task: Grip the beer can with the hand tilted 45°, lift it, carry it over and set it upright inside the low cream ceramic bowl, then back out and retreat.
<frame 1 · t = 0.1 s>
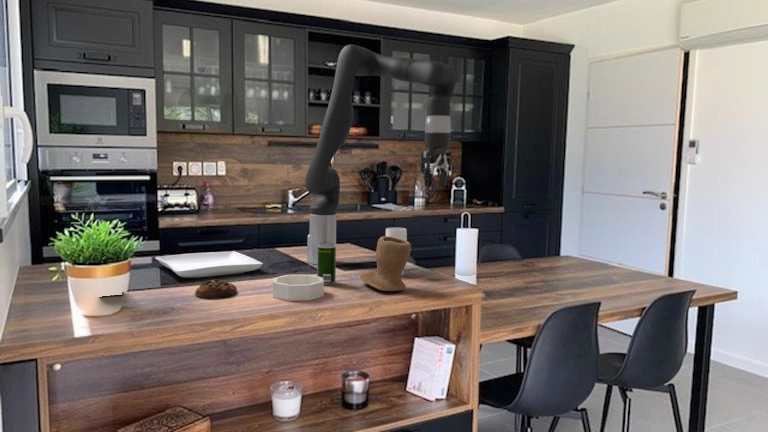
hand: (435, 186, 173), 29 cm above the countertop, tool pointing down, fingers open, 8 cm apart
drinking glass: (395, 275, 184), on the countertop
beer can: (326, 283, 171), on the countertop
square plate: (208, 271, 187), on the countertop
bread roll: (216, 295, 155), on the countertop
cream bowl: (298, 294, 157), on the countertop
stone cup: (386, 288, 167), on the countertop
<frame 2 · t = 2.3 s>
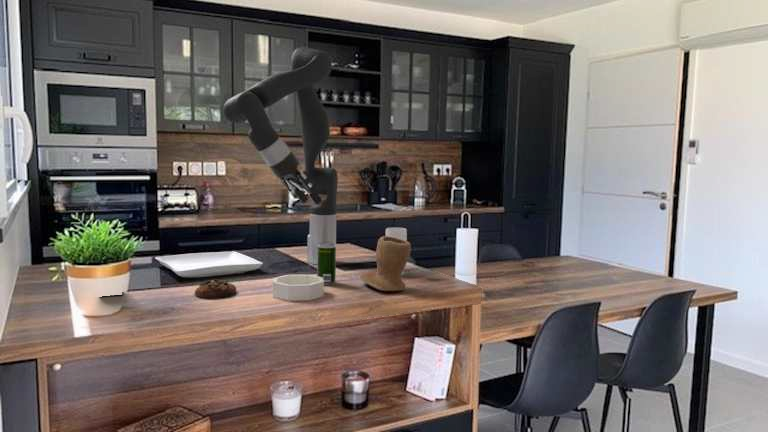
hand: (312, 201, 165), 24 cm above the countertop, tool tilted 40°, fingers open, 8 cm apart
nothing on the countertop moved.
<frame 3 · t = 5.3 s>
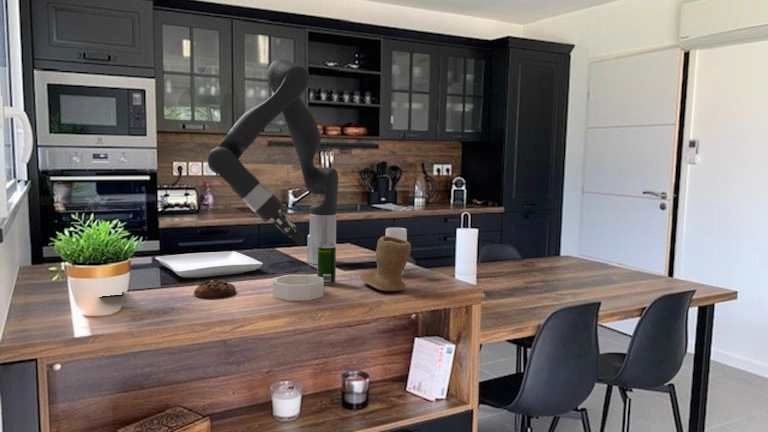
hand: (302, 241, 168), 13 cm above the countertop, tool tilted 45°, fingers open, 8 cm apart
nothing on the countertop moved.
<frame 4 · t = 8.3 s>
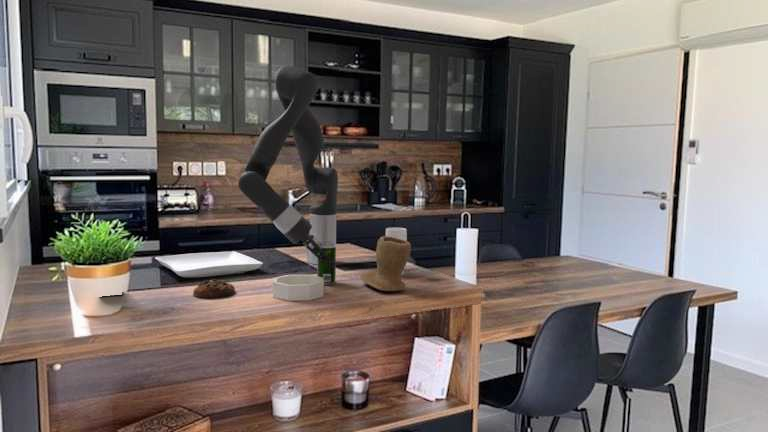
hand: (332, 264, 170), 6 cm above the countertop, tool tilted 45°, fingers closed on beer can, 5 cm apart
beer can: (326, 283, 171), on the countertop, touching gripper
everything else where it was.
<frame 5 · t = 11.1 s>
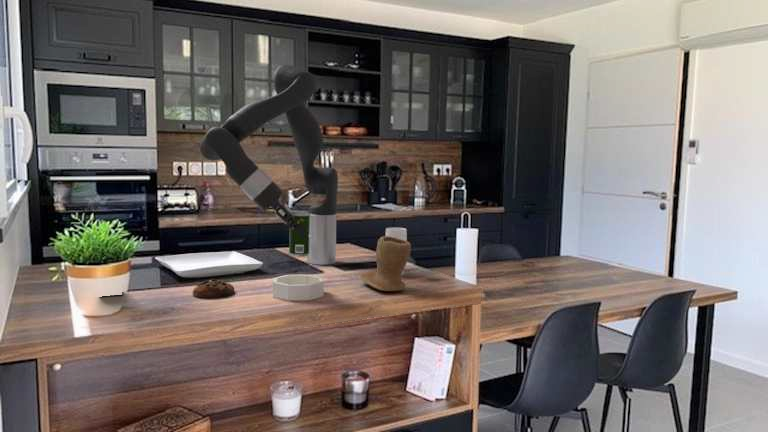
hand: (306, 234, 156), 16 cm above the countertop, tool tilted 45°, fingers closed on beer can, 5 cm apart
beer can: (299, 256, 156), point 11 cm above the countertop, touching gripper
everything else where it was.
when the fingers open (8 cm above the countertop, at t = 14.0 s): beer can drops 1 cm, resting on cream bowl.
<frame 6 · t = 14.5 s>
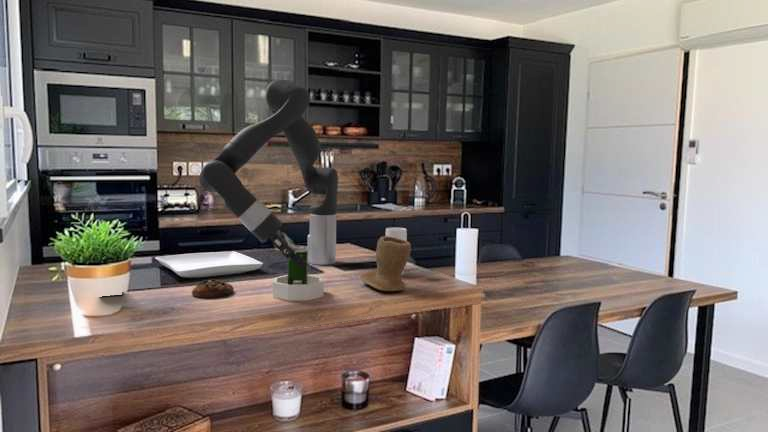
hand: (303, 262, 156), 9 cm above the countertop, tool tilted 45°, fingers open, 8 cm apart
beer can: (297, 291, 157), point 1 cm above the countertop, touching cream bowl
everything else where it was.
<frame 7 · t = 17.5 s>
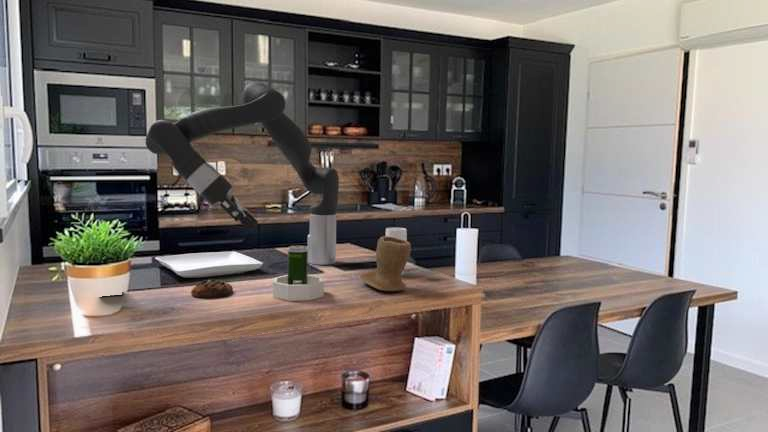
hand: (254, 227, 153), 18 cm above the countertop, tool tilted 45°, fingers open, 8 cm apart
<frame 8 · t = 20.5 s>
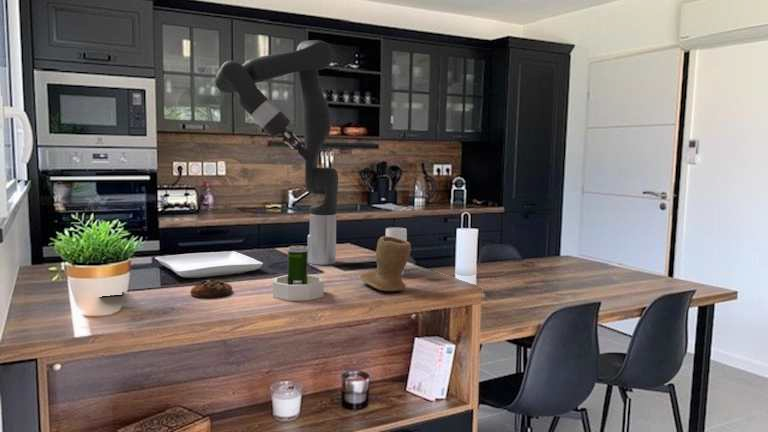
hand: (309, 158, 173), 37 cm above the countertop, tool tilted 45°, fingers open, 8 cm apart
at the end: beer can inside the target area on the cream bowl (0.3 cm from its centre), point 0.8 cm above the cream bowl's base; beer can tilted 0°; the gripper is holding nothing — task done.
